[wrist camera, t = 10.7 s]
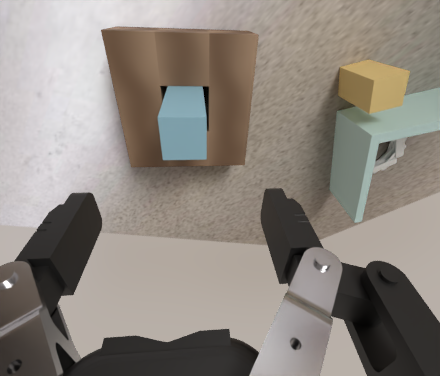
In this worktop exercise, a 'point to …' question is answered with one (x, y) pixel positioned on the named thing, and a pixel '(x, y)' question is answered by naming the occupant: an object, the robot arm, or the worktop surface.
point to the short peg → (373, 85)
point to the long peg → (183, 124)
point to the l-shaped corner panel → (376, 144)
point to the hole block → (182, 76)
